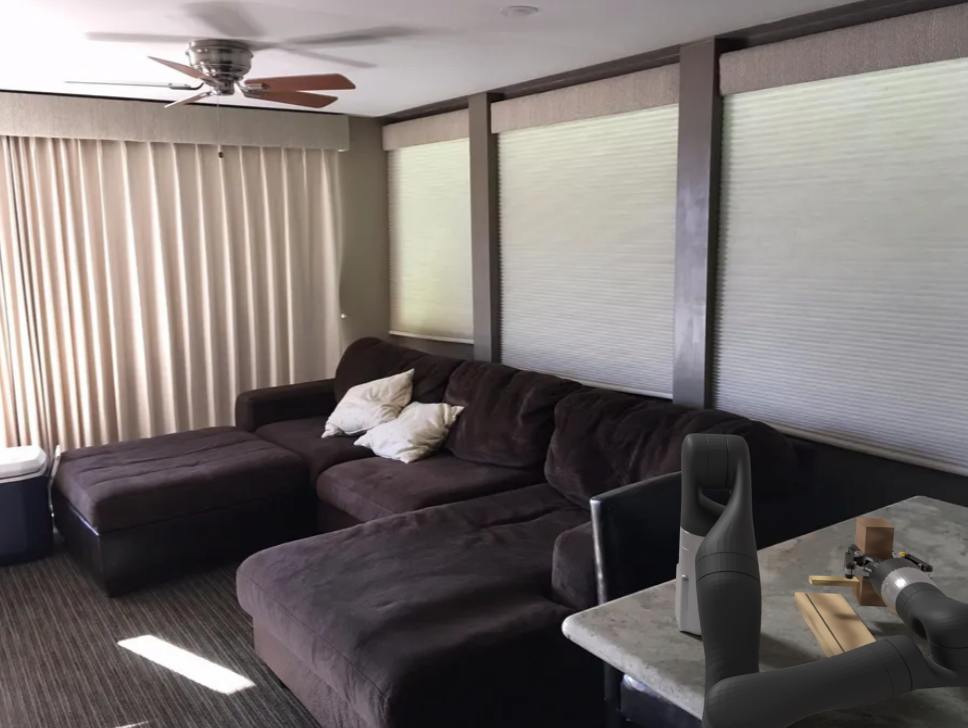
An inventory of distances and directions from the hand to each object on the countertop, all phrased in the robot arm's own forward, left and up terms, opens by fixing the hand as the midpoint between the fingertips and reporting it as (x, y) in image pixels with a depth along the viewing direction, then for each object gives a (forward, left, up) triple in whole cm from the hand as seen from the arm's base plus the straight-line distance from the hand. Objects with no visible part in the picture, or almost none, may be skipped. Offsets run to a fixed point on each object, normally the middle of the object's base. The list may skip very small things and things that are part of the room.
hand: (867, 550), depth 143 cm
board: (-7, -10, -12) cm, 17 cm away
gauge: (-4, -3, -8) cm, 9 cm away
